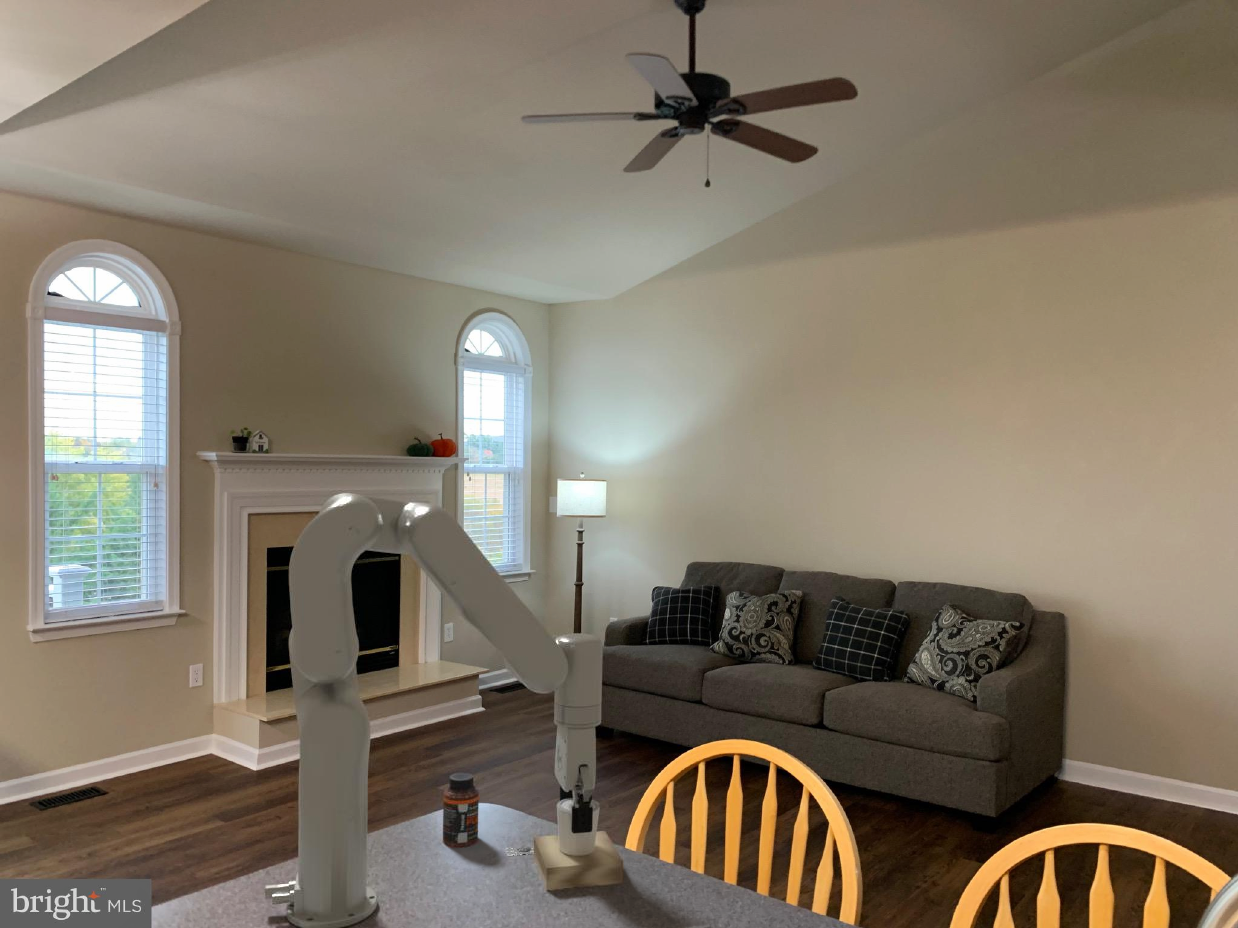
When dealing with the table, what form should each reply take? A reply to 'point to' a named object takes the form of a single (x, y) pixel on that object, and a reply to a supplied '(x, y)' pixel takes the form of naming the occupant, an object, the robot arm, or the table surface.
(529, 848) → the push button plate
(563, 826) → the light grey cup
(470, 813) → the supplement bottle
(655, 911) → the table surface
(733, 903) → the table surface
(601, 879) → the maple block
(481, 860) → the table surface
